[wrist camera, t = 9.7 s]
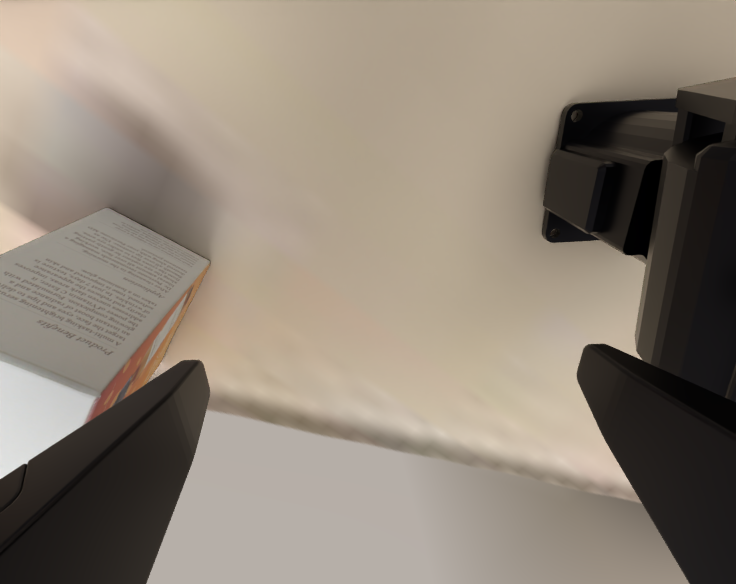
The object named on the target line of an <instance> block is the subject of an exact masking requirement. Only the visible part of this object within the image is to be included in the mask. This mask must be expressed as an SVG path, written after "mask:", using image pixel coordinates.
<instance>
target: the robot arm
mask: <svg viewBox="0 0 736 584" xmlns="http://www.w3.org/2000/svg"><path fill="white" fill-rule="evenodd" d="M575 110H577V111H578V116H577V118H576V119H575V120H574V121H572V119H571V115H572V113H573V112H574V111H575ZM543 206H544V207H545V208H546V211H545V217H544V223H543V229H542V235H543V237H544V238H545V239H546V240H547V241H549V242H552V243H556V242H574V241H592V240H601V241H603V242H605V243H607V244H608V245H610V246H612V247H613V248H615V249H617V250H618V251H620V252H622V253H623V254H625V255H631V256H633V257H635V258H636V259H638V260H640V261H642V262H643V263H645V264H646V269H645V275H644V281H643V287H642V294H641V300H640V306H639V312H638V319H637V325H636V331H635V341H636V351H637V353H638V354H639V355H640V357H641V358H642V360H643V361H642V360H640V359H638V358H636V357H633V356H631V355H629V354H627V353H624V352H622V351H620V350H618V349H616V348H613V347H611V346H609V345H606V344H588V345H586V346H585V347H584V349H583V352H582V356H581V359H580V363H579V366H578V370H577V380H578V383H579V385H580V387H581V390H582V392H583V394H584V396H585V398H586V401H587V403H588V405H589V407H590V409H591V411H592V414H593V416H594V418H595V420H596V422H597V425H598V427H599V429H600V431H601V433H602V435H603V437H604V439H605V441H606V443H607V444H608V446H609V448H610V450H611V451H612V453H613V455H614V456H615V458H616V460H617V462H618V463H619V465H620V467H621V468H622V470H623V472H624V473H625V475H626V477H627V479H628V480H629V482H630V484H631V485H632V487H633V489H634V490H635V492H636V494H637V495H638V497H639V499H640V501H641V502H642V504H643V506H644V507H645V509H646V511H647V512H648V514H649V516H650V518H651V519H652V521H653V522H654V524H655V526H656V528H657V529H658V531H659V533H660V534H661V536H662V538H663V540H664V541H665V543H666V545H667V546H668V548H669V550H670V551H671V553H672V555H673V556H674V558H675V560H676V562H677V563H678V565H679V567H680V568H681V570H682V572H683V573H684V575H685V577H686V579H687V580H688V582H689V583H690V584H736V77H734V78H729V79H724V80H719V81H714V82H709V83H704V84H699V85H694V86H689V87H684V88H679V89H678V92H677V98H666V99H646V100H626V101H605V102H585V103H573V104H570V105H568V106H567V107H566V108H565V109H564V111H563V113H562V116H561V121H560V127H559V133H558V139H557V145H556V150H555V151H554V152H553V154H552V155H551V159H550V165H549V172H548V178H547V184H546V190H545V196H544V202H543ZM553 229H556V230H557V231H556V233H555V234H554V235H551V236H550V233H551V231H552V230H553ZM209 397H210V387H209V383H208V379H207V376H206V372H205V368H204V365H203V363H202V361H200V360H184V361H181V362H179V363H178V364H176V365H175V366H173V367H172V368H170V369H169V370H167V371H166V372H164V373H163V374H161V375H159V376H158V377H156V378H155V379H153V380H152V381H150V382H149V383H147V384H146V385H144V386H143V387H141V388H139V389H138V390H136V391H135V392H133V393H132V394H130V395H129V396H127V397H126V398H124V399H123V400H121V401H119V402H118V403H116V404H115V405H113V406H112V407H110V408H109V409H107V410H106V411H104V412H103V413H101V414H99V415H98V416H96V417H95V418H93V419H92V420H90V421H89V422H87V423H86V424H84V425H83V426H81V427H80V428H78V429H76V430H75V431H73V432H72V433H70V434H69V435H67V436H66V437H64V438H63V439H61V440H60V441H58V442H56V443H55V444H53V445H52V446H50V447H49V448H47V449H46V450H44V451H43V452H41V453H40V454H38V455H36V456H35V457H33V458H32V459H30V460H29V461H28V463H27V464H22V465H21V466H19V467H18V468H16V469H15V470H13V471H12V472H10V473H9V474H7V475H6V476H4V477H3V478H1V479H0V584H146V583H147V580H148V577H149V575H150V572H151V570H152V567H153V564H154V562H155V559H156V556H157V554H158V551H159V548H160V546H161V543H162V541H163V538H164V535H165V533H166V530H167V527H168V525H169V522H170V520H171V517H172V514H173V512H174V509H175V506H176V504H177V501H178V499H179V496H180V493H181V491H182V488H183V485H184V483H185V480H186V478H187V475H188V472H189V470H190V467H191V464H192V461H193V458H194V455H195V452H196V448H197V444H198V440H199V436H200V433H201V429H202V425H203V421H204V417H205V413H206V409H207V405H208V401H209Z"/></svg>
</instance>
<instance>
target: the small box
mask: <svg viewBox="0 0 736 584" xmlns="http://www.w3.org/2000/svg"><path fill="white" fill-rule="evenodd" d="M209 266H210V261H209V260H207V259H205V258H203V257H201V256H199V255H197V254H195V253H193V252H192V251H190V250H188V249H186V248H184V247H182V246H180V245H178V244H177V243H175V242H173V241H171V240H169V239H167V238H165V237H163V236H161V235H159V234H158V233H156V232H154V231H152V230H150V229H148V228H146V227H144V226H142V225H140V224H138V223H136V222H135V221H133V220H131V219H129V218H127V217H125V216H123V215H121V214H119V213H117V212H115V211H114V210H112V209H110V208H104V209H102V210H100V211H97V212H95V213H93V214H91V215H89V216H86V217H84V218H82V219H80V220H77V221H75V222H73V223H71V224H68V225H66V226H64V227H62V228H60V229H58V230H55V231H53V232H50V233H48V234H46V235H44V236H41V237H39V238H37V239H35V240H33V241H30V242H28V243H26V244H24V245H22V246H19V247H17V248H15V249H12V250H10V251H8V252H6V253H4V254H1V255H0V479H1V478H3V477H4V476H6V475H7V474H9V473H10V472H12V471H13V470H15V469H16V468H18V467H19V466H21V465H22V464H27V463H28V461H29V460H30V459H32V458H33V457H35V456H36V455H38V454H40V453H41V452H43V451H44V450H46V449H47V448H49V447H50V446H52V445H53V444H55V443H56V442H58V441H60V440H61V439H63V438H64V437H66V436H67V435H69V434H70V433H72V432H73V431H75V430H76V429H78V428H80V427H81V426H83V425H84V424H86V423H87V422H89V421H90V420H92V419H93V418H95V417H96V416H98V415H99V414H101V413H103V412H104V411H106V410H107V409H109V408H110V407H112V406H113V405H115V404H116V403H118V402H119V401H121V400H123V399H124V398H126V397H127V396H129V395H130V394H132V393H133V392H135V391H136V390H138V389H139V388H141V387H143V386H144V385H145V384H146V383H147V381H148V380H149V379H150V377H151V376H152V374H153V373H154V372H155V370H156V369H157V367H158V366H159V364H160V363H161V361H162V358H163V356H164V354H165V352H166V350H167V347H168V345H169V343H170V341H171V339H172V337H173V335H174V333H175V331H176V329H177V327H178V325H179V323H180V321H181V320H182V318H183V316H184V314H185V312H186V310H187V308H188V306H189V304H190V303H191V301H192V299H193V297H194V295H195V293H196V291H197V289H198V287H199V285H200V283H201V281H202V279H203V277H204V275H205V274H206V272H207V270H208V268H209Z"/></svg>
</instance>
